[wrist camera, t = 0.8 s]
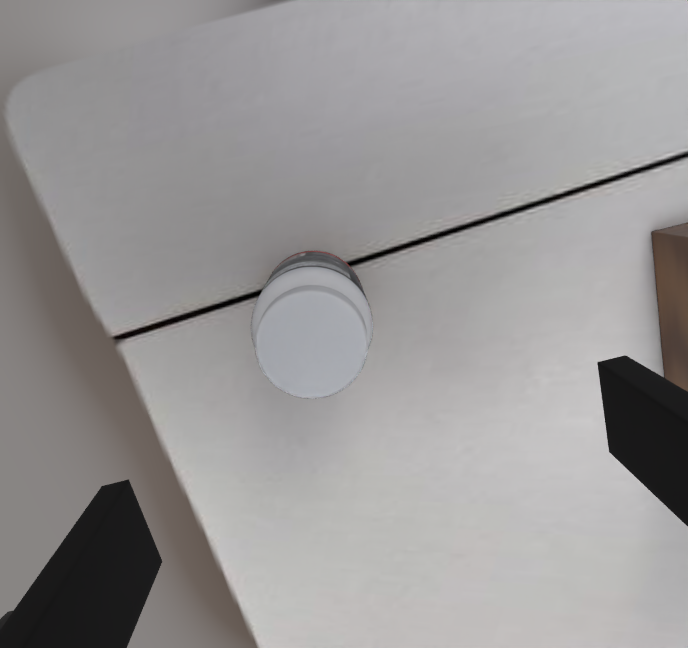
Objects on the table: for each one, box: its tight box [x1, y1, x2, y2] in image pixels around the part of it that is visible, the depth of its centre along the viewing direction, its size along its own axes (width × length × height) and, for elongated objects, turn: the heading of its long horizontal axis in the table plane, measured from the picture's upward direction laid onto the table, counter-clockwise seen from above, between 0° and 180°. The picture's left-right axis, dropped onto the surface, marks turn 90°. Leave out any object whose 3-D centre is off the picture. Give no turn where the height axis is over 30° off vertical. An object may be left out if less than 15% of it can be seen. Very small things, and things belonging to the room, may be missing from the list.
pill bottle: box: [251, 251, 373, 399], centre depth 27 cm, size 6×6×10 cm
